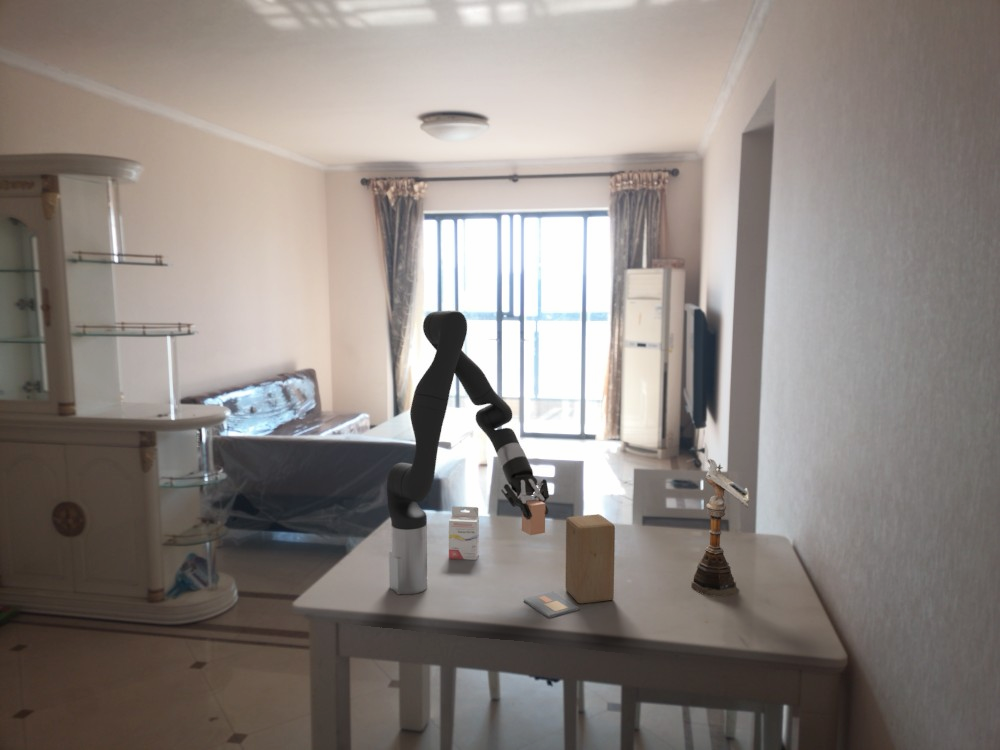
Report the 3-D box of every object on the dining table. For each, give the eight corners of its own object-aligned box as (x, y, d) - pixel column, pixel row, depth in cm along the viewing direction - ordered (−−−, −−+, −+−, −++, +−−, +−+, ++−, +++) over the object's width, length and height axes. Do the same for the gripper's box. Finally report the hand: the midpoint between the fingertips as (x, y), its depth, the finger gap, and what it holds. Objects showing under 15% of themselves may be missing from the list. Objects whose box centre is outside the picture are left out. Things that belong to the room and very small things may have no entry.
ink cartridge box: (448, 559, 206) (448, 510, 204) (451, 553, 211) (450, 505, 209) (477, 560, 205) (477, 511, 204) (479, 554, 210) (479, 506, 208)
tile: (548, 617, 167) (548, 615, 167) (523, 601, 177) (523, 598, 177) (578, 609, 172) (578, 606, 172) (553, 593, 181) (553, 591, 181)
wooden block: (578, 605, 174) (579, 527, 172) (564, 589, 184) (564, 515, 182) (615, 601, 177) (616, 524, 175) (599, 585, 187) (600, 512, 184)
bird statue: (756, 582, 189) (761, 455, 185) (756, 601, 177) (761, 466, 173) (693, 574, 195) (697, 450, 191) (688, 592, 182) (692, 460, 179)
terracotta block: (530, 535, 184) (531, 505, 183) (521, 530, 188) (522, 501, 187) (544, 532, 186) (545, 503, 185) (535, 528, 190) (536, 499, 189)
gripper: (497, 457, 188) (520, 513, 179) (541, 453, 195) (565, 506, 186) (487, 473, 193) (509, 527, 184) (530, 468, 200) (553, 520, 191)
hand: (537, 516), depth 185 cm, fingers closed on terracotta block, 4 cm apart
